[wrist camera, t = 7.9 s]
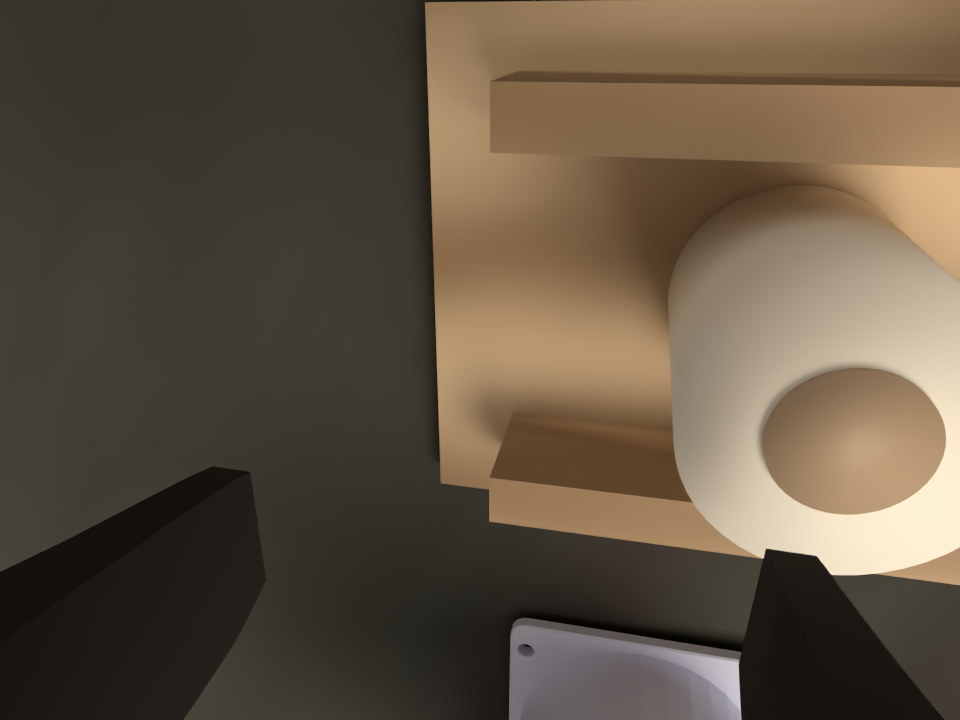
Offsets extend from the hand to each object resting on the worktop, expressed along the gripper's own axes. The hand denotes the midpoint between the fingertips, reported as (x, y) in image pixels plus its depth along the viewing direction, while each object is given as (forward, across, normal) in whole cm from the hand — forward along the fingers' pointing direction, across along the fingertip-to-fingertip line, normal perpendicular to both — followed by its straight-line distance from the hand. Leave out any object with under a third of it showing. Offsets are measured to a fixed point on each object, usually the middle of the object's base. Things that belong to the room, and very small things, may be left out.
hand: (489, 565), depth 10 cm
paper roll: (+8, -5, -1) cm, 10 cm away
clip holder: (+9, -5, -1) cm, 10 cm away
